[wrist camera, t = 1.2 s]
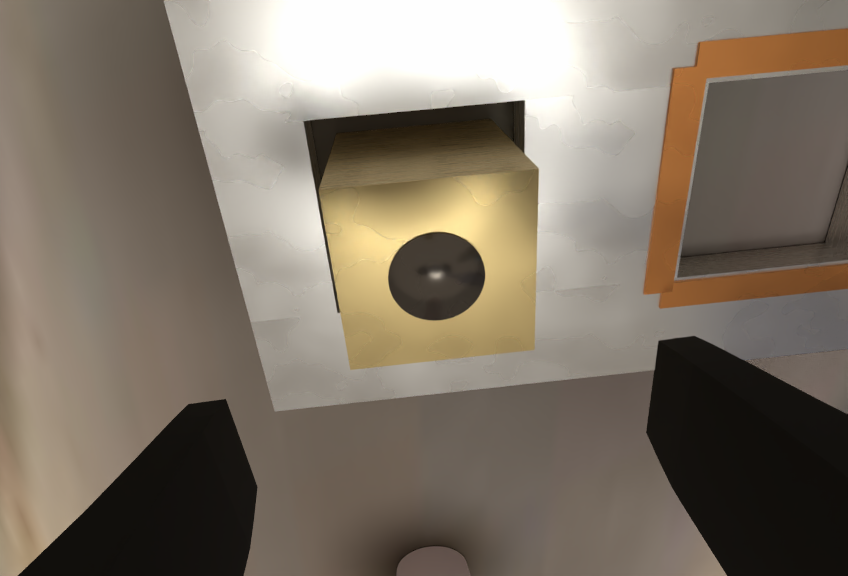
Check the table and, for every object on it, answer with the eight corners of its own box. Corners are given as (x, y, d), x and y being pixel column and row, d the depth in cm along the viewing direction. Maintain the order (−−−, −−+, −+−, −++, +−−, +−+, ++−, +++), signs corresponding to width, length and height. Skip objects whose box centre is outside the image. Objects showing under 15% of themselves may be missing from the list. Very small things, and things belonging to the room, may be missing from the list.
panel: (1025, -100, 16) (1088, -110, 14) (868, 323, 22) (901, 344, 21) (175, -27, 15) (153, -31, 13) (281, 386, 22) (274, 413, 20)
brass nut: (490, 118, 17) (540, 169, 12) (493, 257, 20) (535, 351, 14) (336, 133, 17) (318, 191, 12) (357, 271, 20) (350, 371, 14)
